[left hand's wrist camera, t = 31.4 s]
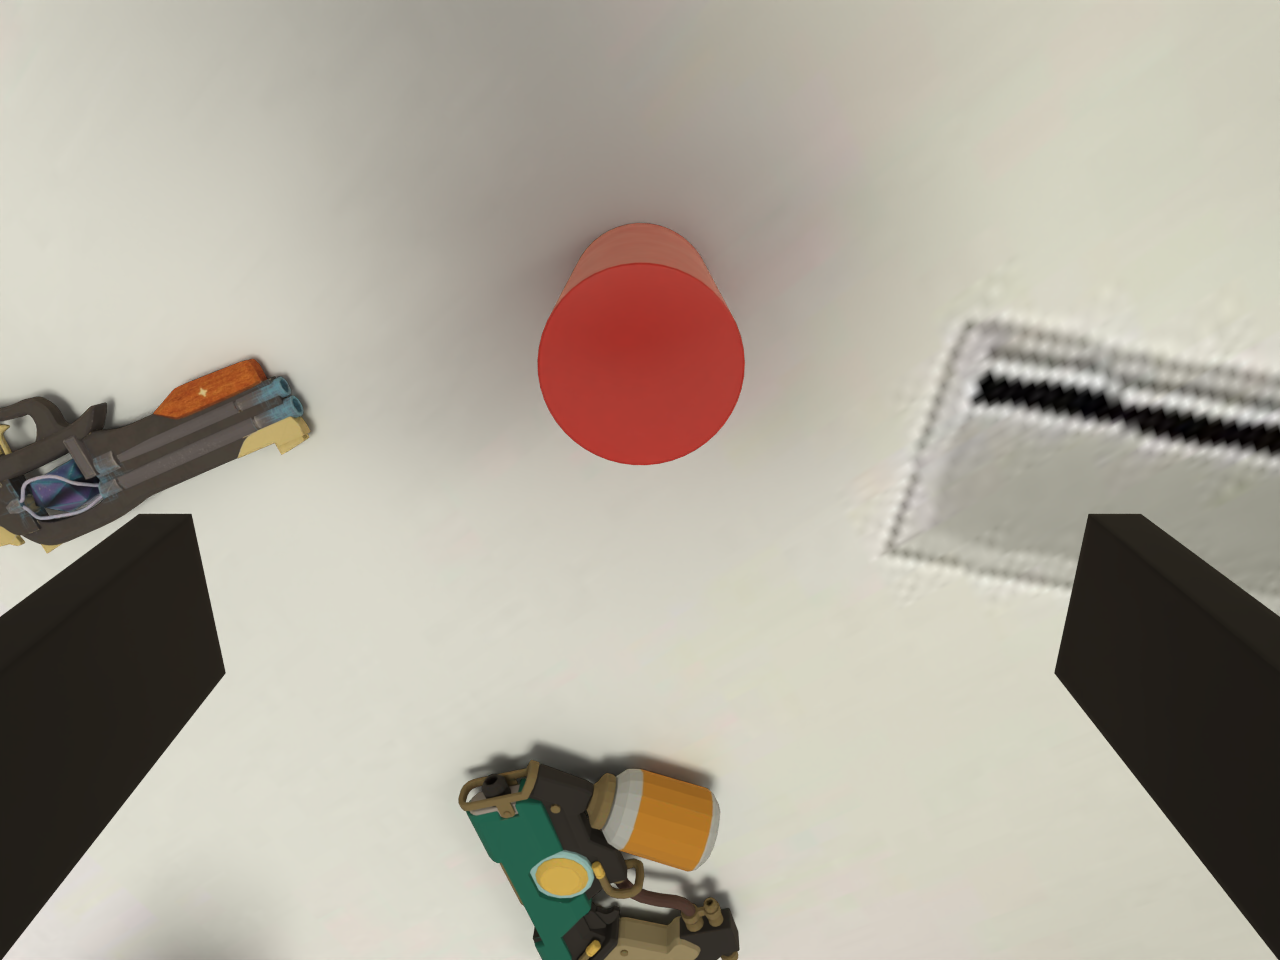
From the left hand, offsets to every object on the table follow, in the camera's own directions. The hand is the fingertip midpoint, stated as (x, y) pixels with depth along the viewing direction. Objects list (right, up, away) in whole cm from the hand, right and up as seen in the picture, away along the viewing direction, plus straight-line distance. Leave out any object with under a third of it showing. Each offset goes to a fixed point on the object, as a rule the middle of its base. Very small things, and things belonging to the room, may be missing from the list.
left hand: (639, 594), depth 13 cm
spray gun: (-2, -20, +36) cm, 41 cm away
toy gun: (-25, +5, +26) cm, 37 cm away
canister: (0, +10, +24) cm, 26 cm away
